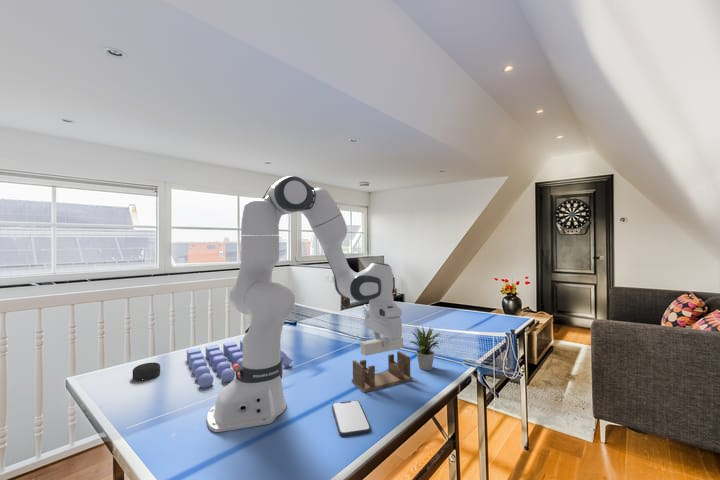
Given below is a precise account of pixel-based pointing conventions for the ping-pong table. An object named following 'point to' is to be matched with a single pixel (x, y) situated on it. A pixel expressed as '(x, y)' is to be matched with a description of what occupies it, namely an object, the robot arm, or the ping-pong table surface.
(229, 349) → the blocks
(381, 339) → the clay strip
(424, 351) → the house plant
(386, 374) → the rack
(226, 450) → the ping-pong table surface
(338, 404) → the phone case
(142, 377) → the smart speaker
